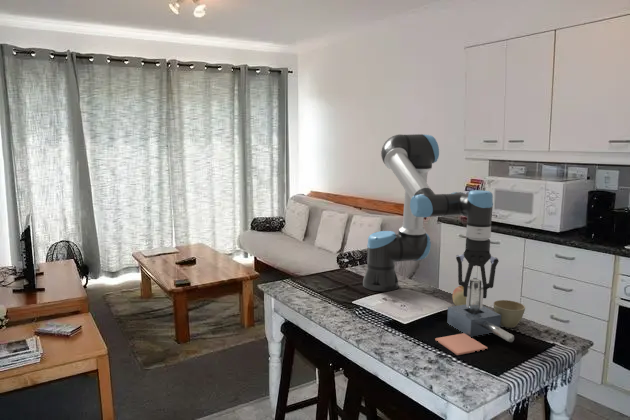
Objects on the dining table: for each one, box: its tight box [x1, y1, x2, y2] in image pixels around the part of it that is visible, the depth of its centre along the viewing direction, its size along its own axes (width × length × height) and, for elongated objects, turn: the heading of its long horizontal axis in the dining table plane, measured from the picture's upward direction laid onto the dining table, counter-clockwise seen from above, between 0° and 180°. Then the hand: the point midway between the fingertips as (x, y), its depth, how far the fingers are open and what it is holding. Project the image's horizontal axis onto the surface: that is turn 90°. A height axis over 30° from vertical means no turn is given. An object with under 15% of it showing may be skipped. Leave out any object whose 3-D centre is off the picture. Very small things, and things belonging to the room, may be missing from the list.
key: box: [468, 277, 482, 315], centre depth 154 cm, size 4×7×14 cm, turn 164°
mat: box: [434, 332, 488, 356], centre depth 143 cm, size 11×11×1 cm
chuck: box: [446, 304, 515, 343], centre depth 150 cm, size 23×12×6 cm, turn 21°
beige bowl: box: [493, 299, 526, 329], centre depth 158 cm, size 10×10×7 cm
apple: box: [452, 285, 467, 306], centre depth 173 cm, size 9×9×8 cm
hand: (474, 306), depth 154 cm, fingers closed on key, 3 cm apart
